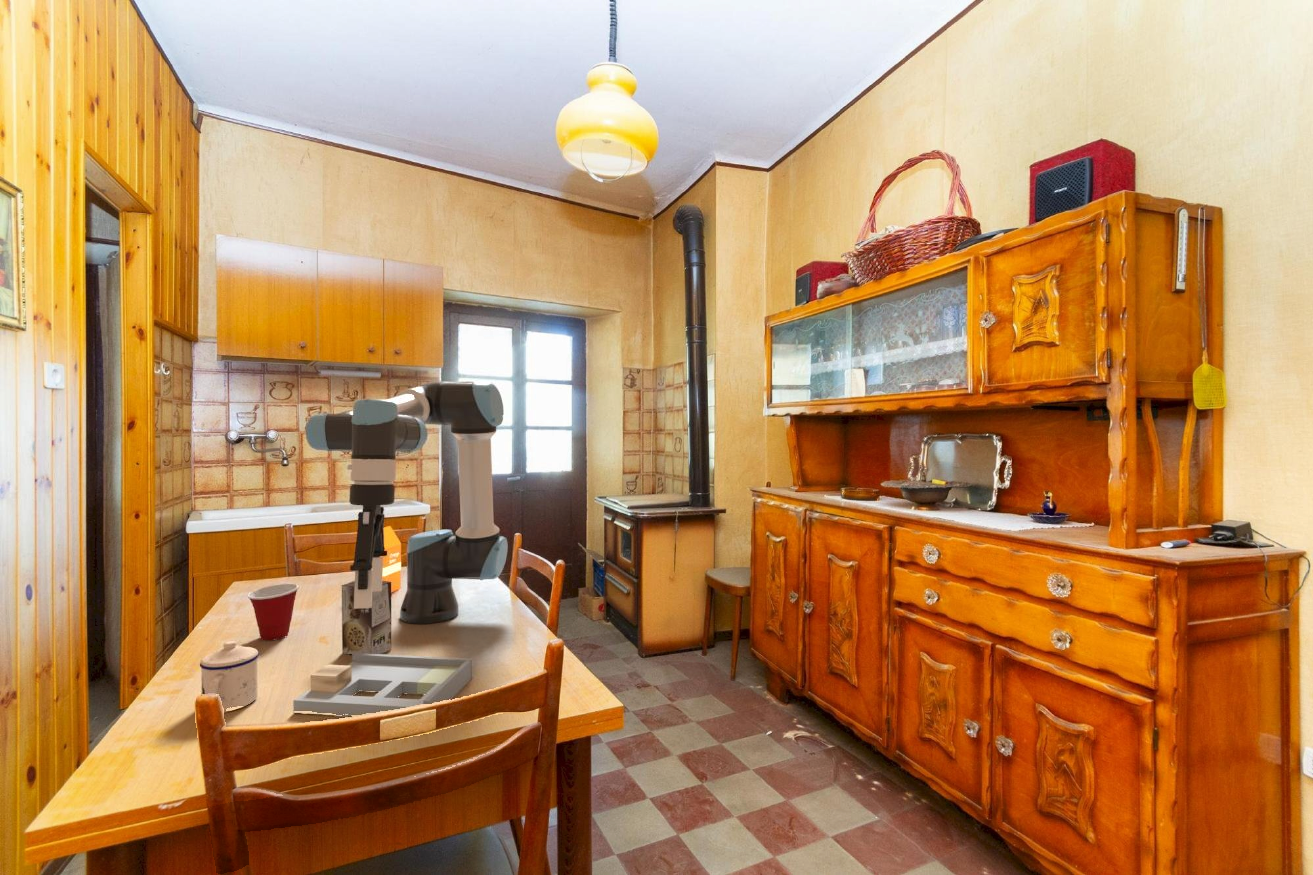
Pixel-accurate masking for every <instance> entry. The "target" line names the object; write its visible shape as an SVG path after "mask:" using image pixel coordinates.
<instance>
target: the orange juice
mask: <svg viewBox="0 0 1313 875" xmlns="http://www.w3.org/2000/svg"><path fill="white" fill-rule="evenodd" d="M384 547H385V550H384V551H387V556H380V557H383V575H382V581H390V582H392V583H391V593H393V592H395V591H397V590H400V589H401V587H402V582H401V581H402V580H401V579H402V542H401V541H400V539H399V538H398V536H397V535H396V533H395V531H394V529H393V528H392V526H391V525H388V526H384Z"/></svg>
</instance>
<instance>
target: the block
mask: <svg viewBox="0 0 1313 875" xmlns="http://www.w3.org/2000/svg"><path fill="white" fill-rule="evenodd" d="M351 681H352V666H347V665H344V664H343V665H342V664H340V665H339V664H326V665H324V666H323V667H321V668H320V669H318V670H316V671H315V672H314V673H312V674H310V689H311V691H324V692H337V691H338V690H339V689H341V688H342V687H344V686H345V685H346V684H348V683H349V682H351Z"/></svg>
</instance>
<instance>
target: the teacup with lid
mask: <svg viewBox="0 0 1313 875" xmlns="http://www.w3.org/2000/svg"><path fill="white" fill-rule="evenodd" d="M259 655H260V653H259V651H258V650H257V649H256V648H254V647H251V646H243V645H240V644H239V645H238V644H237V642H236V641H235V640H229V641H225V642H224V643H223V647H221V648H219V649H218V650H216V651H214V652H211V653H209V654H207V655H205V656H204V657H203V658H202V659H201V660H200V663H199V666H200V668H201V695H202V694H208V693H215V694H219V696H220V698H221V701H222V706H223V708H224V713H226V714H227V712H226V709H227V708H230V707H231V708H232V707H237V706H245V705H247V704H250V703H251V702H253V701H254V700H255V701H256V700H257V699H256V698H258V696H259V695H258V683H259V682H258V658H259ZM255 701H254V702H255ZM254 702H253V703H254ZM250 705H251V704H250ZM224 713H223V714H224Z"/></svg>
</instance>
